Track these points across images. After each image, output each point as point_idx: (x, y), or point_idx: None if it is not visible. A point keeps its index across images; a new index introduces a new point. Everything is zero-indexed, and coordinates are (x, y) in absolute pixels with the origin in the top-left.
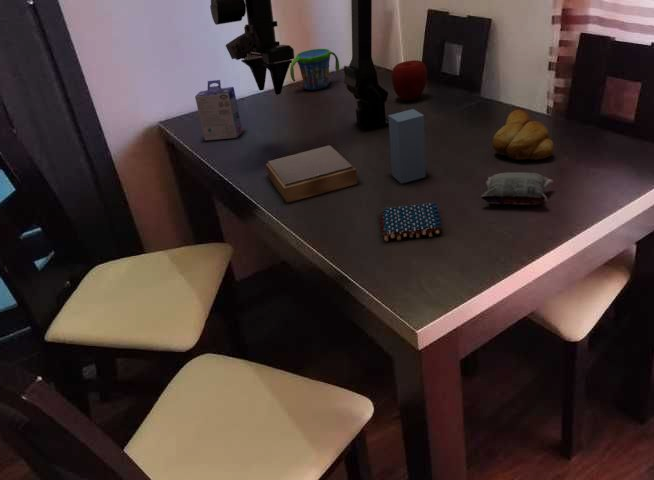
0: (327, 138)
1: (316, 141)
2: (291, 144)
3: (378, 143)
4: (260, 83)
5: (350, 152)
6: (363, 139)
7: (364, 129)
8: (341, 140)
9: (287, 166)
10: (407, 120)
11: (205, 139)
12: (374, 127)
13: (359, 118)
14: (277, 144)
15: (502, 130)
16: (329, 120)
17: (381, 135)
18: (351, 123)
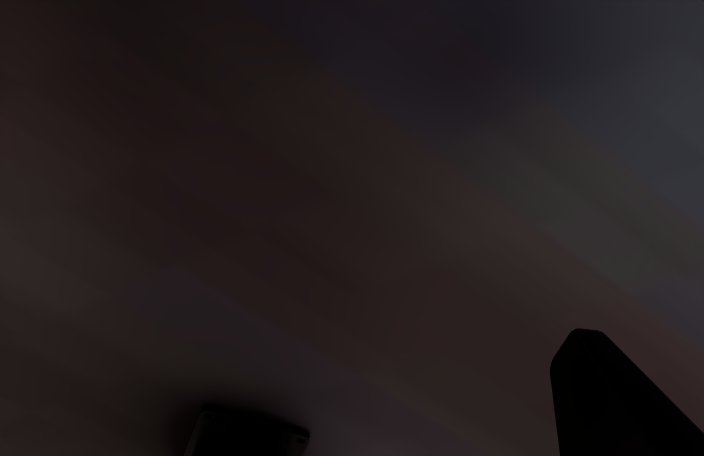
0: (286, 292)
1: (305, 247)
2: (409, 158)
3: (21, 343)
4: (599, 431)
5: (9, 231)
6: (121, 346)
7: (212, 406)
8: (198, 303)
9: None
10: None
11: None
12: (193, 429)
13: (235, 448)
14: (502, 116)
15: None
16: (473, 418)
17: (100, 395)
18: (341, 427)
